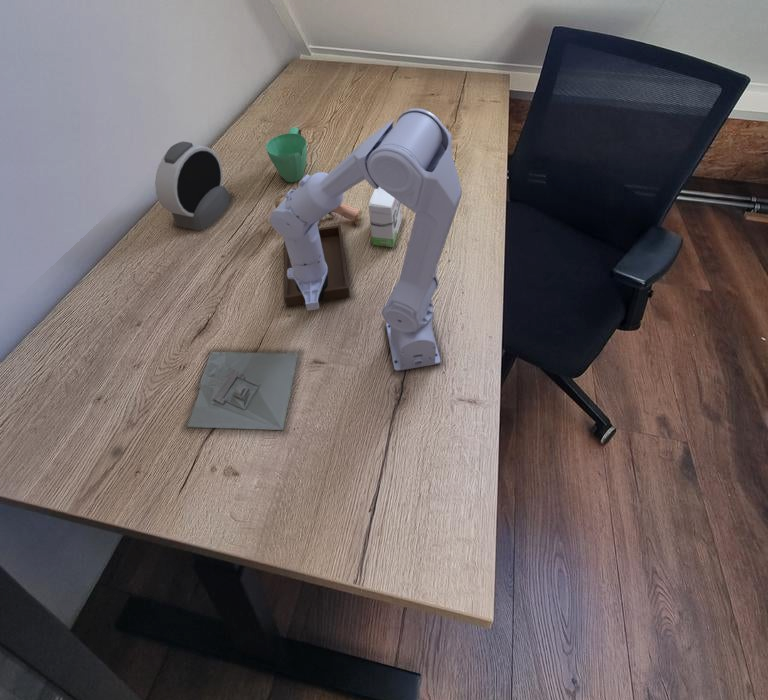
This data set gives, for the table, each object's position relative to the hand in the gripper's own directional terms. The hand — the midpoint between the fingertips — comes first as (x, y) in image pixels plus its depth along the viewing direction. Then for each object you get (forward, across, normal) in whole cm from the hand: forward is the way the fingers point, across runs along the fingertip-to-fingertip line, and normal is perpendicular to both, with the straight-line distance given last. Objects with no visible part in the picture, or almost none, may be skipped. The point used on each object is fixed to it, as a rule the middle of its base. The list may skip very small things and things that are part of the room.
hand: (317, 300), depth 86 cm
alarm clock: (+2, -33, -26) cm, 42 cm away
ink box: (+2, -17, +16) cm, 23 cm away
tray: (+2, -9, 0) cm, 10 cm away
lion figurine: (+2, -26, -2) cm, 26 cm away
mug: (+2, -44, -4) cm, 44 cm away
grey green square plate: (+2, +15, -18) cm, 24 cm away
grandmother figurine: (0, -21, +11) cm, 23 cm away
